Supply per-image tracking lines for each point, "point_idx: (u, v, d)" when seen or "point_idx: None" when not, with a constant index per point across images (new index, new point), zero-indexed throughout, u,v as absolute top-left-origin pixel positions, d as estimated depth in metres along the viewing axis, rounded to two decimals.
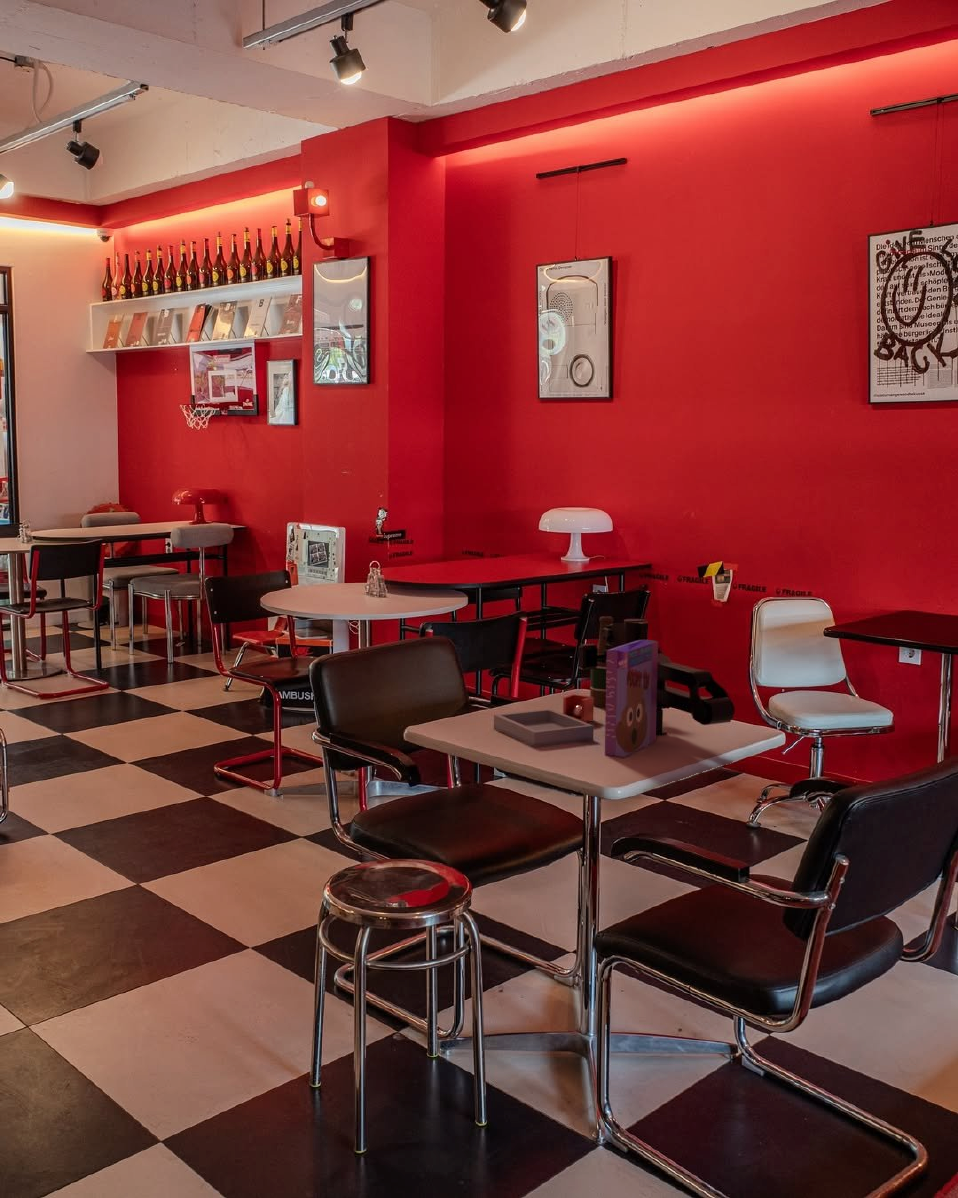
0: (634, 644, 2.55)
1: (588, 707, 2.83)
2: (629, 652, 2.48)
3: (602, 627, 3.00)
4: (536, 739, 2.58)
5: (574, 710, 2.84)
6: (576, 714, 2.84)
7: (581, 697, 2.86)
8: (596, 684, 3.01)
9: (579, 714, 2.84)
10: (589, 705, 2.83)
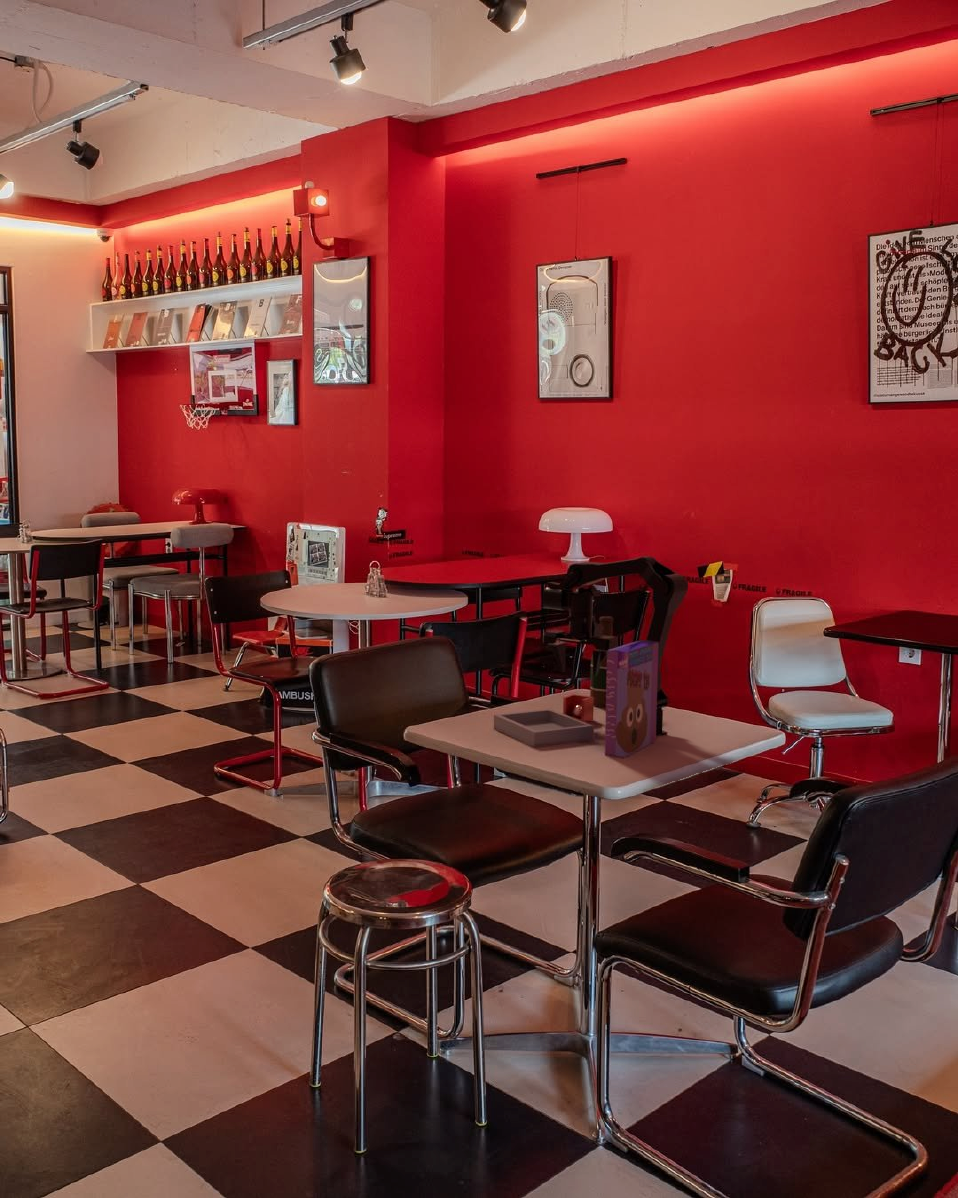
0: (634, 644, 2.56)
1: (588, 707, 2.83)
2: (629, 652, 2.48)
3: None
4: (536, 739, 2.58)
5: (574, 710, 2.84)
6: (576, 714, 2.84)
7: (581, 697, 2.86)
8: (596, 684, 3.01)
9: (579, 714, 2.84)
10: (589, 705, 2.83)
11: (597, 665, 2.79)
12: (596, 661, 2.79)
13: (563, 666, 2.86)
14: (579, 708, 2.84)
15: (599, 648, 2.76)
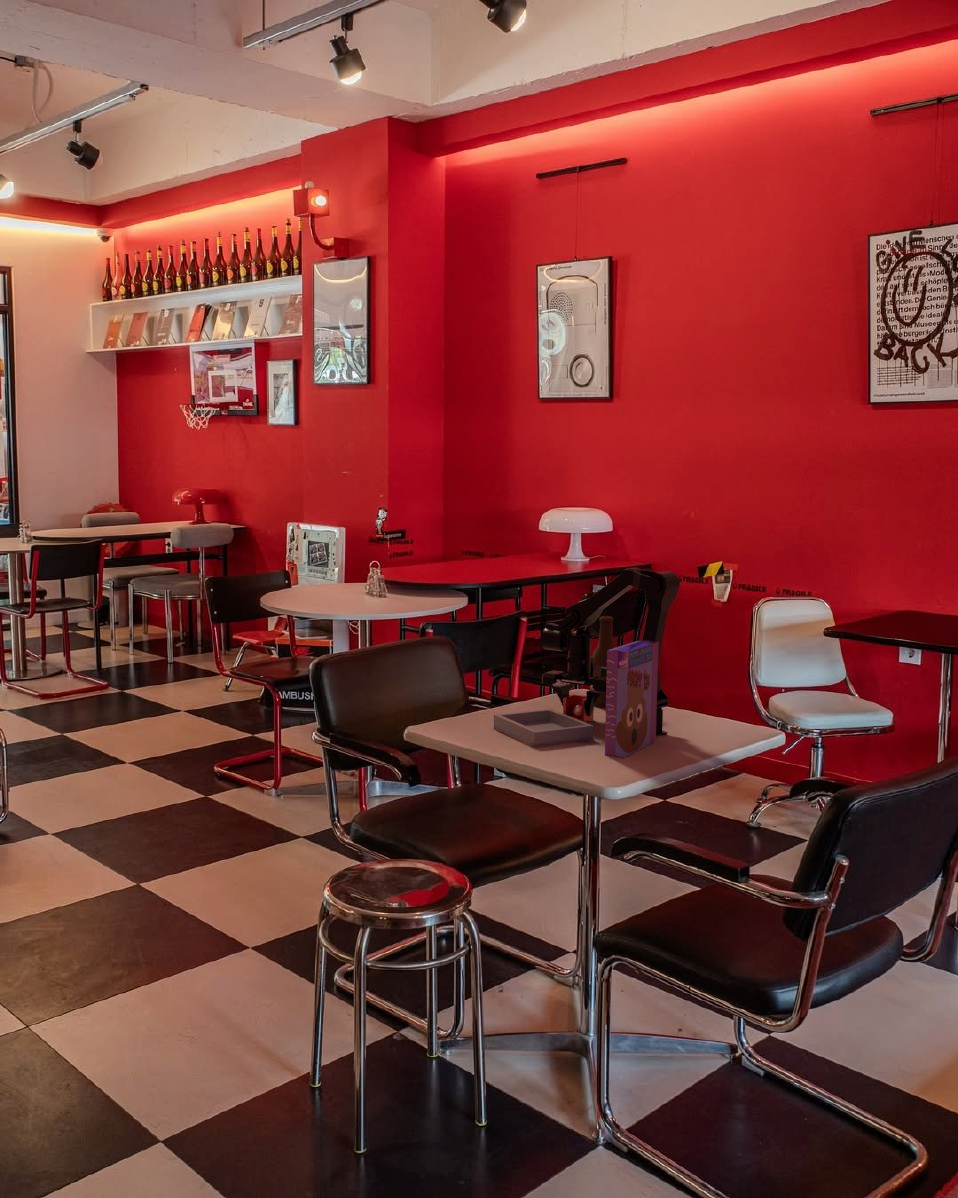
0: (634, 644, 2.56)
1: None
2: (629, 652, 2.48)
3: (602, 627, 3.00)
4: (536, 739, 2.58)
5: (574, 710, 2.84)
6: (576, 714, 2.84)
7: (581, 697, 2.86)
8: None
9: (579, 714, 2.84)
10: None
11: (591, 705, 2.81)
12: (590, 702, 2.81)
13: None
14: (579, 708, 2.84)
15: (598, 690, 2.78)
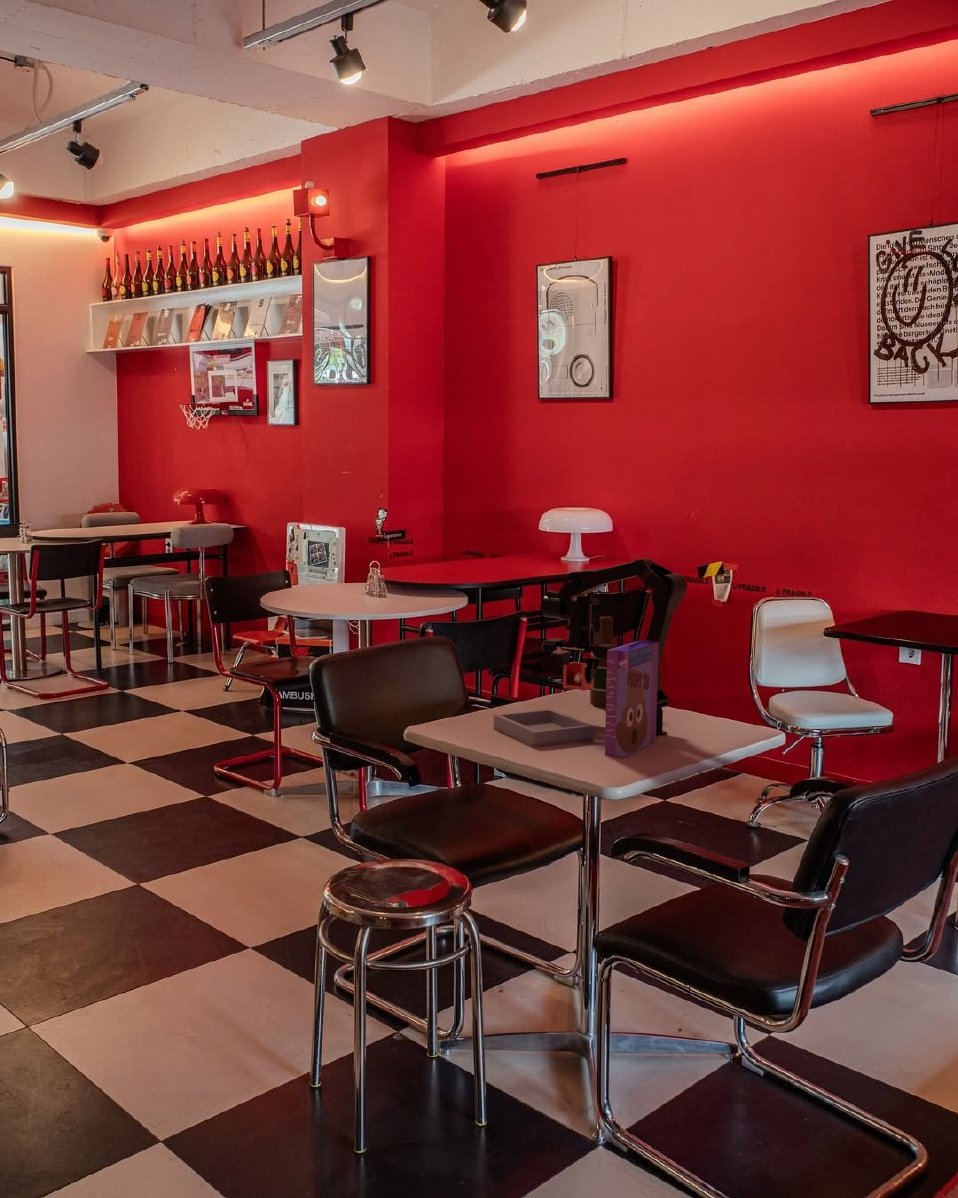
0: (634, 644, 2.56)
1: None
2: (629, 652, 2.48)
3: (602, 627, 3.00)
4: (536, 739, 2.58)
5: (574, 677, 2.83)
6: (576, 681, 2.83)
7: (581, 664, 2.85)
8: (596, 684, 3.01)
9: (579, 681, 2.83)
10: None
11: (591, 672, 2.80)
12: (590, 668, 2.79)
13: None
14: (579, 675, 2.83)
15: (598, 656, 2.77)
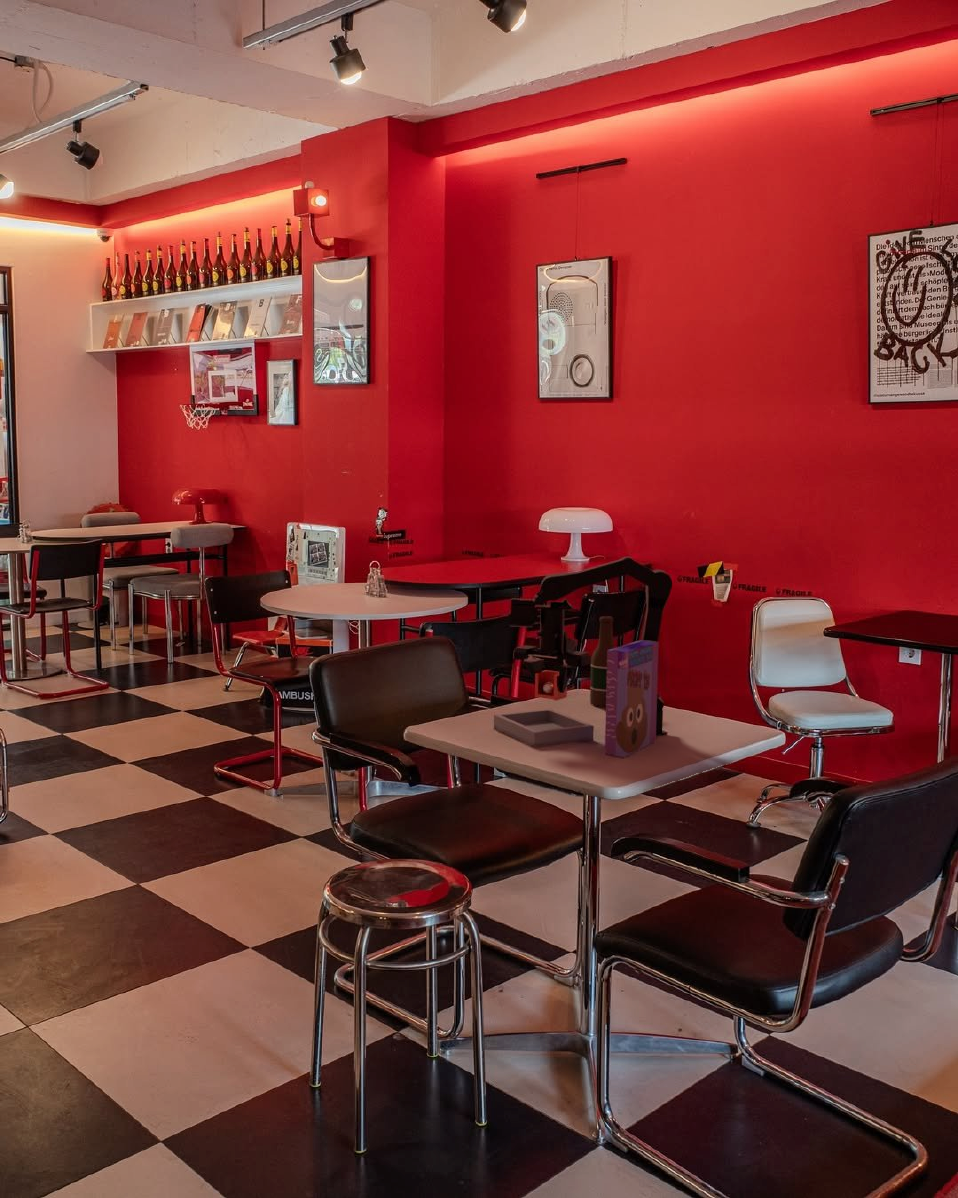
0: (634, 644, 2.55)
1: None
2: (629, 652, 2.48)
3: (602, 627, 3.00)
4: (536, 739, 2.58)
5: (544, 691, 2.71)
6: (548, 693, 2.71)
7: (554, 673, 2.73)
8: (596, 684, 3.01)
9: (550, 693, 2.71)
10: None
11: (564, 681, 2.68)
12: (563, 677, 2.68)
13: None
14: (548, 688, 2.70)
15: (571, 664, 2.65)
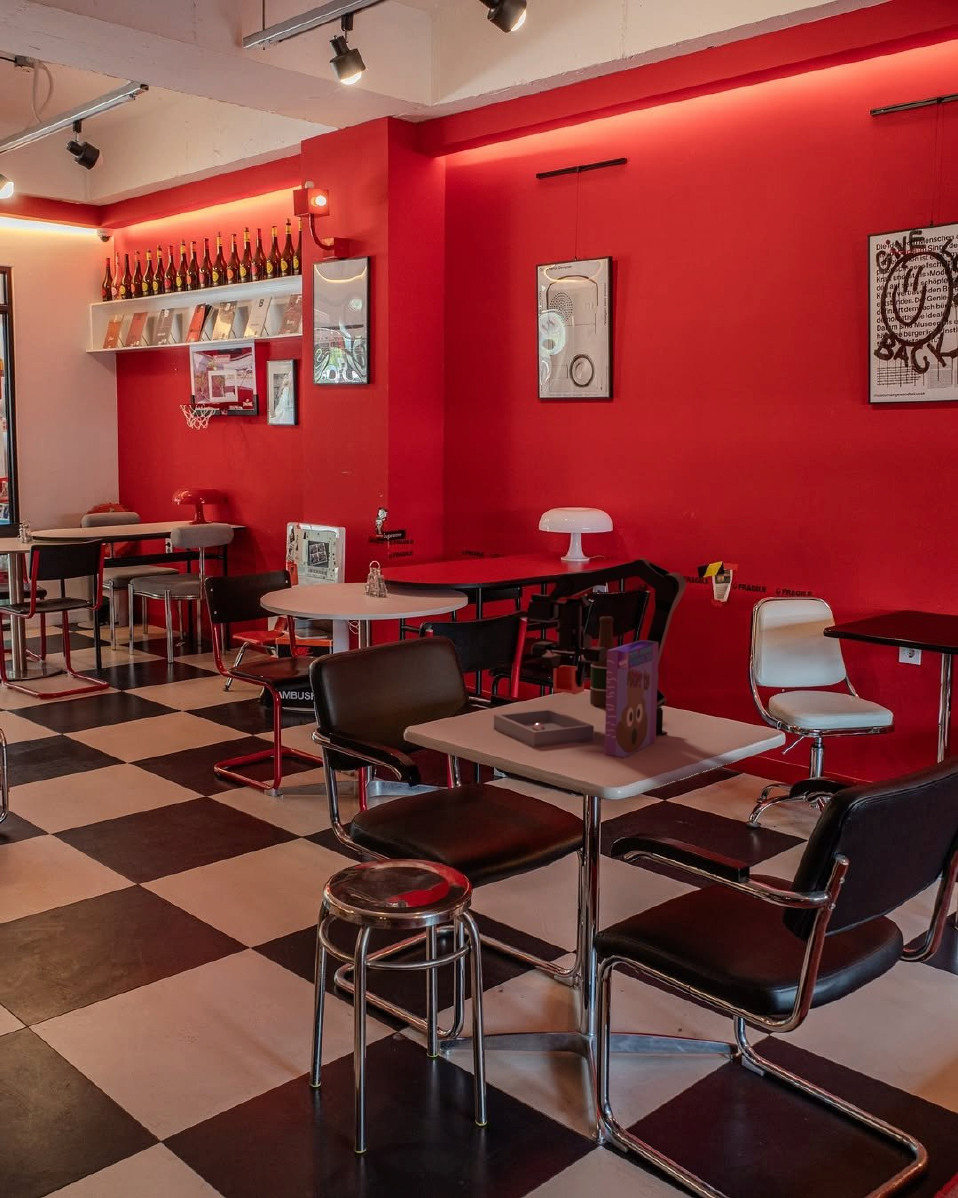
0: (634, 644, 2.56)
1: None
2: (629, 652, 2.48)
3: (602, 627, 3.00)
4: (536, 739, 2.58)
5: None
6: None
7: (571, 668, 2.81)
8: (596, 684, 3.01)
9: None
10: None
11: (582, 676, 2.76)
12: (581, 672, 2.75)
13: None
14: None
15: (589, 659, 2.72)
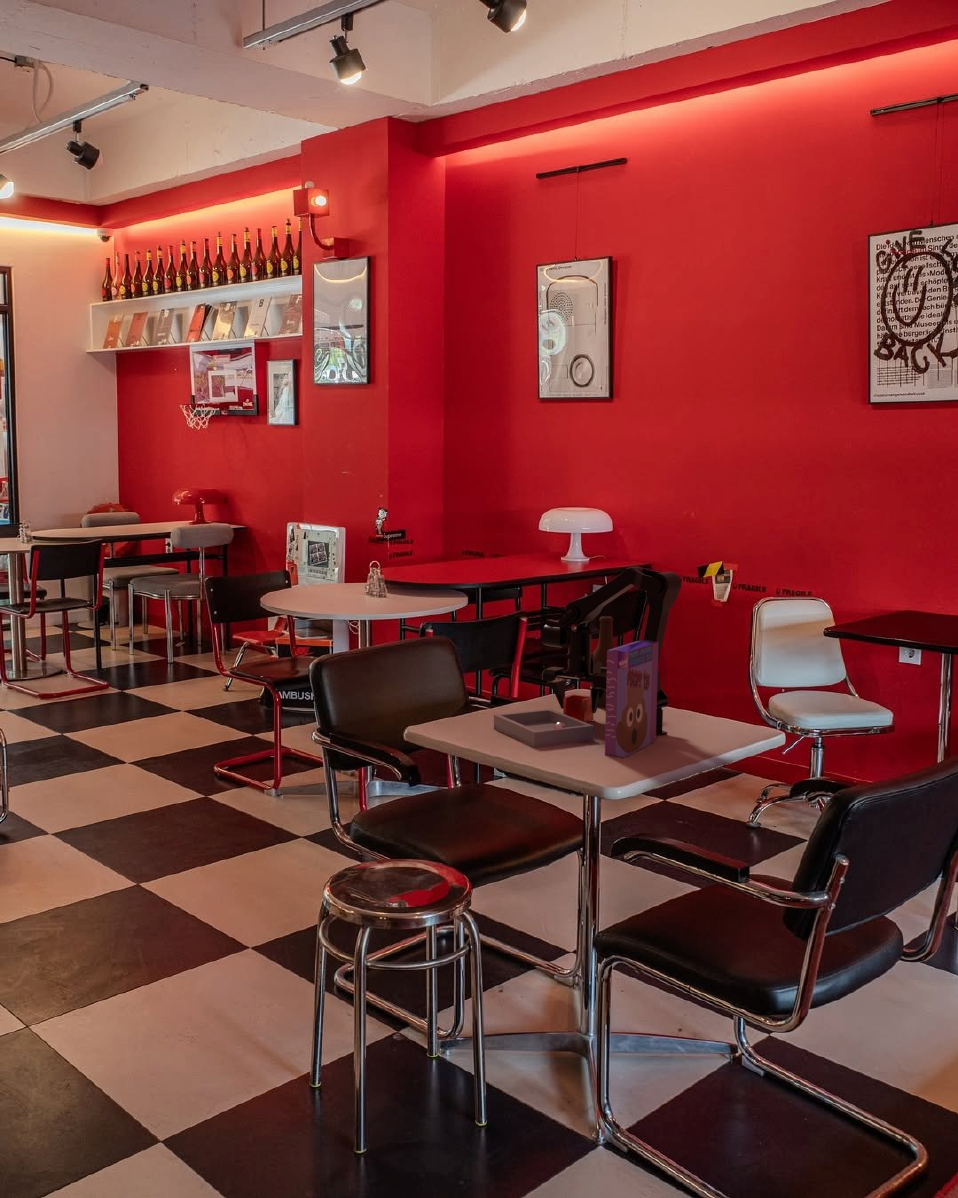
0: (634, 644, 2.56)
1: (589, 707, 2.83)
2: (629, 652, 2.48)
3: (602, 627, 3.00)
4: (536, 739, 2.58)
5: None
6: (555, 724, 2.67)
7: (581, 697, 2.86)
8: None
9: (557, 723, 2.66)
10: (589, 705, 2.83)
11: (595, 702, 2.80)
12: (595, 698, 2.80)
13: None
14: None
15: (598, 686, 2.78)
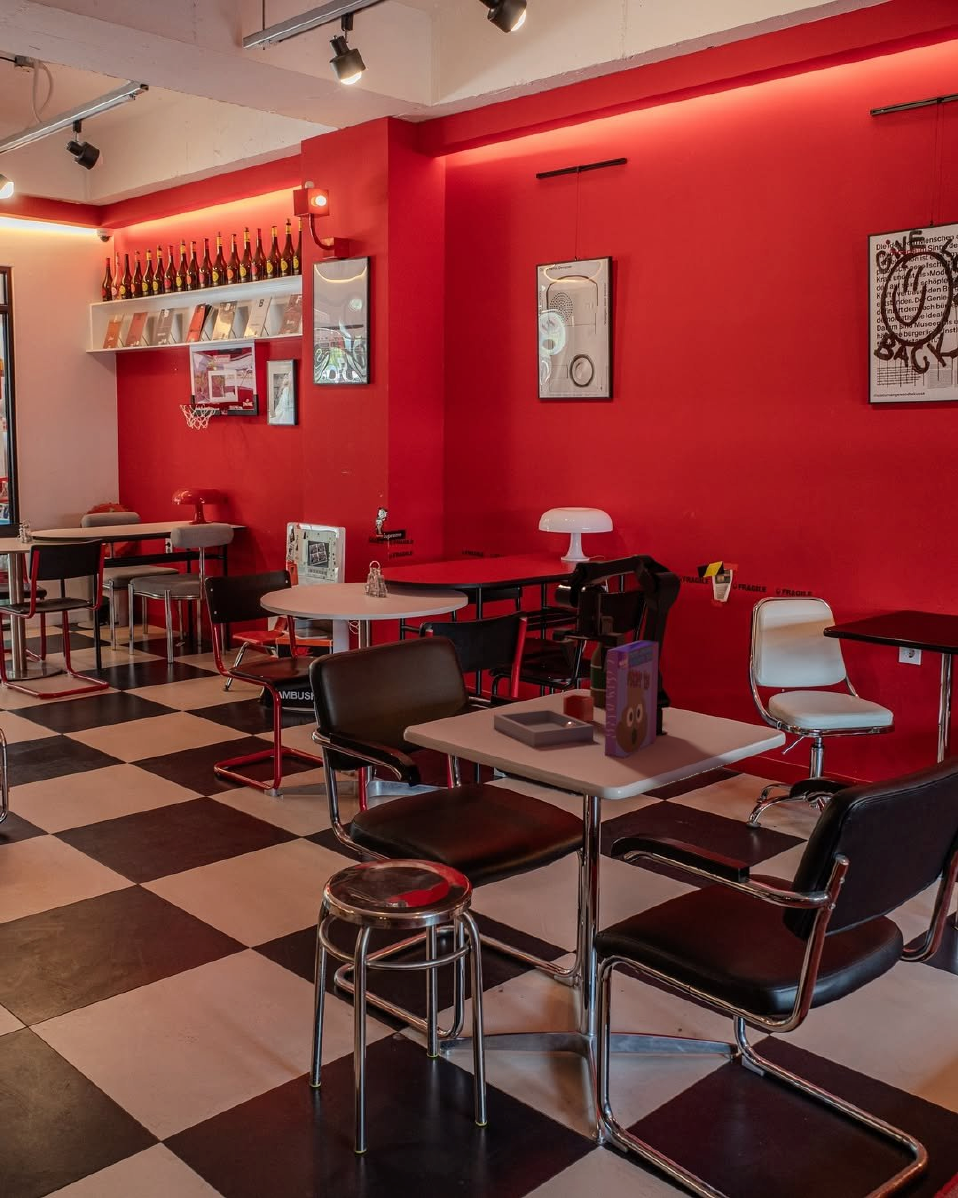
0: (634, 644, 2.55)
1: (589, 707, 2.83)
2: (629, 652, 2.48)
3: None
4: (536, 739, 2.58)
5: None
6: None
7: (581, 697, 2.86)
8: (596, 684, 3.01)
9: None
10: (589, 705, 2.83)
11: (605, 662, 2.84)
12: (604, 658, 2.83)
13: (571, 663, 2.90)
14: None
15: (607, 645, 2.81)
